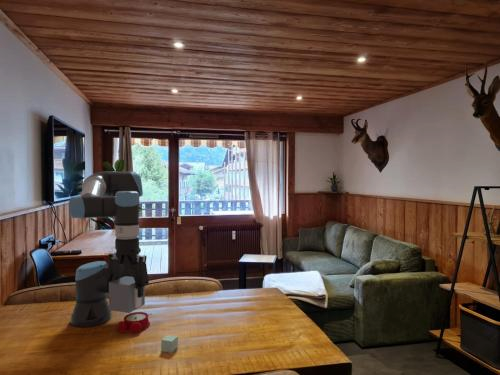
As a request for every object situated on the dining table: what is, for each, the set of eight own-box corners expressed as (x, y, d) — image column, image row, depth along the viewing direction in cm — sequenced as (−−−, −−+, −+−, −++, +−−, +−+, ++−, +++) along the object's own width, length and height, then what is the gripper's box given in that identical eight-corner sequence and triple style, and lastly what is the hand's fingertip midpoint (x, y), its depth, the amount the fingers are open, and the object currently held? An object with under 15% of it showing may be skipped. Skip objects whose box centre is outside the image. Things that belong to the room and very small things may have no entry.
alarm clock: (155, 312, 139) (138, 318, 125) (153, 328, 138) (136, 336, 124) (132, 310, 141) (112, 316, 127) (130, 326, 140) (110, 334, 125)
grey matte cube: (108, 309, 110) (108, 282, 110) (125, 301, 118) (125, 276, 118) (129, 313, 108) (129, 285, 108) (144, 304, 115) (144, 278, 115)
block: (161, 351, 115) (161, 339, 115) (167, 345, 118) (167, 334, 118) (171, 353, 113) (171, 341, 113) (177, 347, 117) (177, 336, 117)
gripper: (94, 237, 112) (94, 304, 113) (146, 241, 105) (146, 313, 106) (110, 233, 119) (110, 297, 120) (160, 237, 113) (160, 305, 113)
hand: (127, 304), depth 113 cm, fingers closed on grey matte cube, 8 cm apart
